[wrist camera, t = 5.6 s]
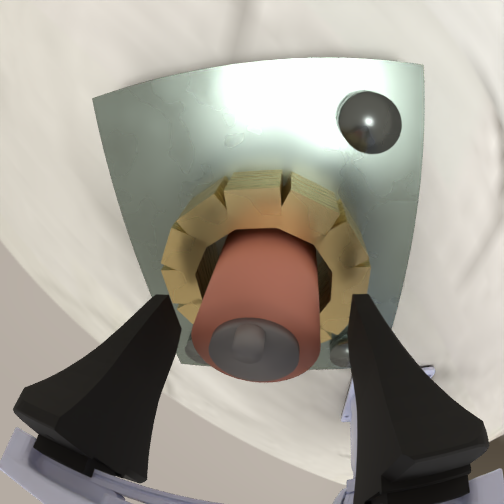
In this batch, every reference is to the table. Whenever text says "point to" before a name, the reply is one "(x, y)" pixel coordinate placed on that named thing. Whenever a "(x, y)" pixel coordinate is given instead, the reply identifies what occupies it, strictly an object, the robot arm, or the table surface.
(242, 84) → the metal plate with ring
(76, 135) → the table surface
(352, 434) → the robot arm
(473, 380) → the table surface
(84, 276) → the table surface
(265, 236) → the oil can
